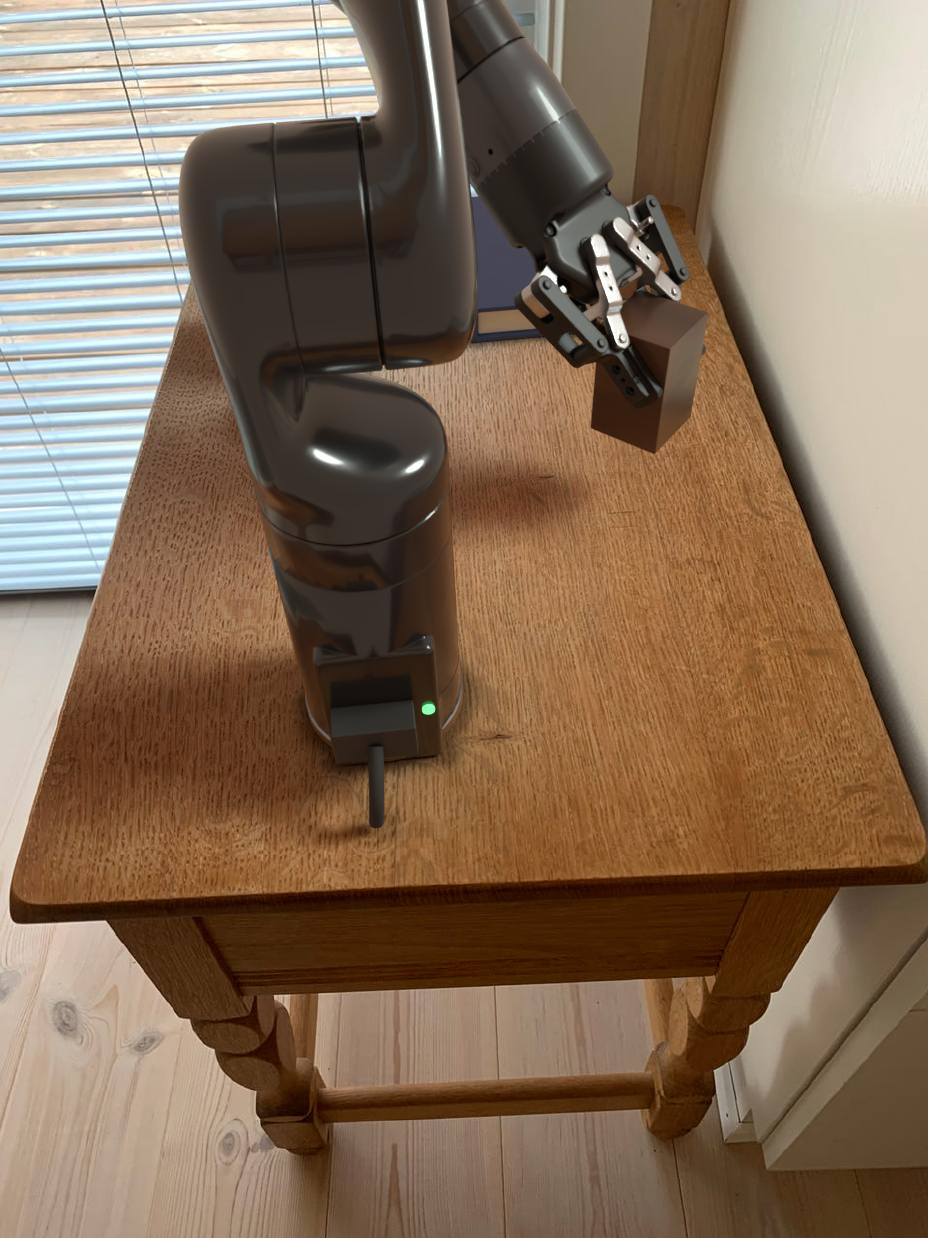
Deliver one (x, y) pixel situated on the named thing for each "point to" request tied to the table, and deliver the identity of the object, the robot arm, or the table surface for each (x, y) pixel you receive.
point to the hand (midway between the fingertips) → (672, 379)
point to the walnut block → (673, 357)
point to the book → (501, 282)
